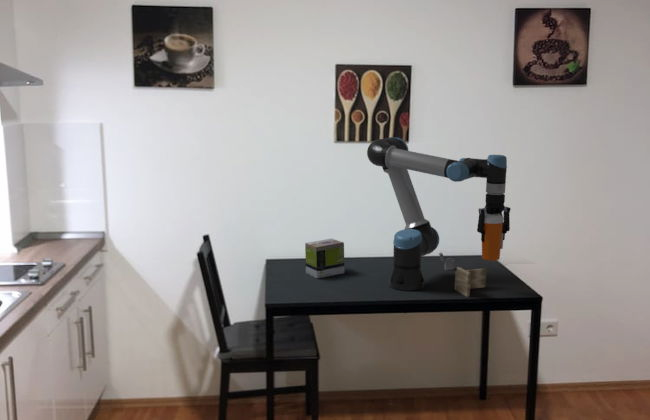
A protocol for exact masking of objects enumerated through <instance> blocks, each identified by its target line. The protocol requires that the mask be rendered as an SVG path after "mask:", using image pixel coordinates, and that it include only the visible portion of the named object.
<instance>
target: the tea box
mask: <svg viewBox="0 0 650 420" xmlns="http://www.w3.org/2000/svg"><path fill="white" fill-rule="evenodd" d="M304 243H305V250H304V251H305V253H304V254H305V274H306V275H308V274H309V276H310V275H311V277H312V276H313V277H312V278H315V279H322V278H326V277H330V276H335V275H341V274H345V242H343V241H341V240H338V239H335V238H327V239H323V240H322V239H321V240H316V241H310V242H304Z"/></svg>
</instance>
